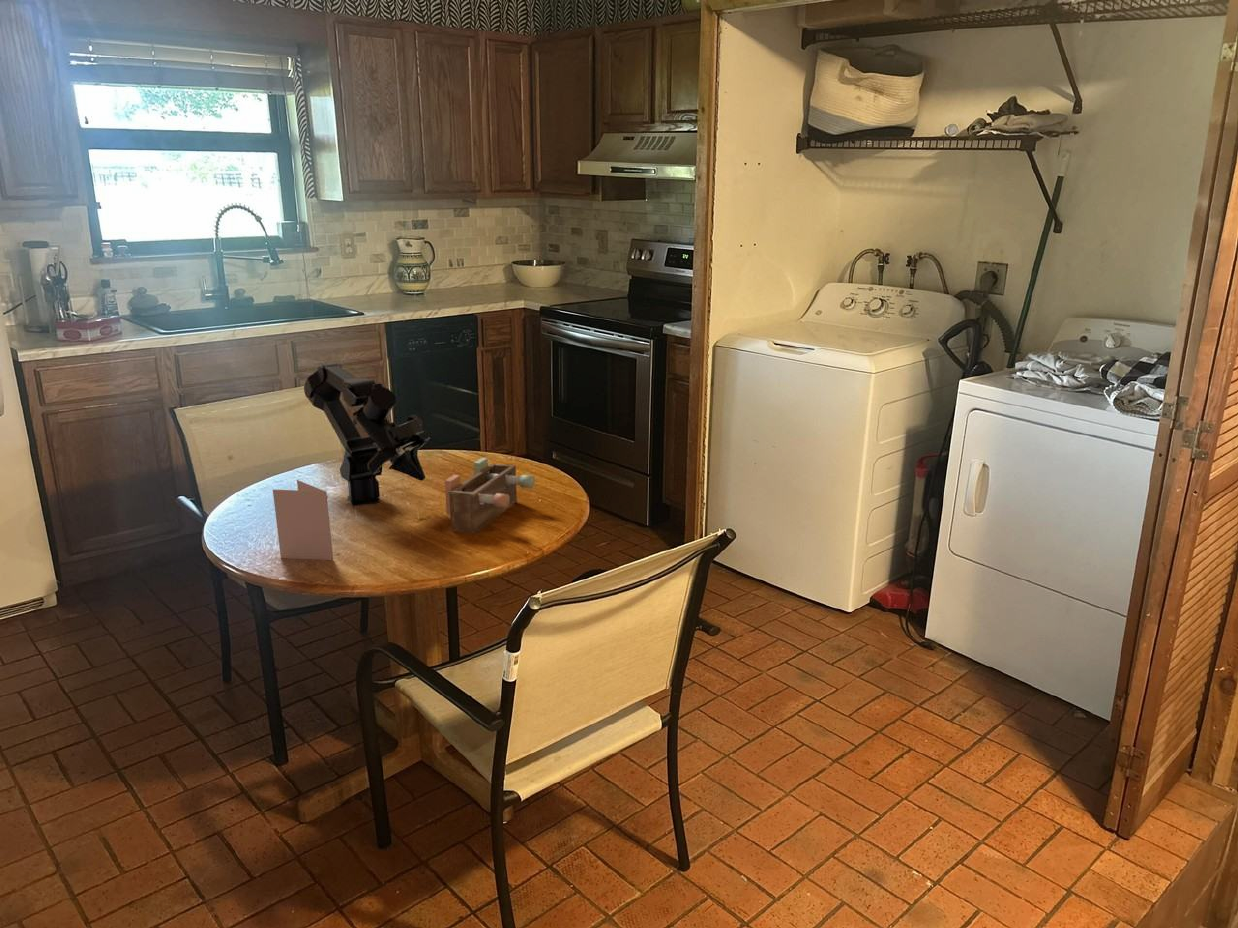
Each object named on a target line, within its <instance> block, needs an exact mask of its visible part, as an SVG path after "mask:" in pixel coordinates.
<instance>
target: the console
mask: <svg viewBox="0 0 1238 928" xmlns="http://www.w3.org/2000/svg"><path fill="white" fill-rule="evenodd" d="M516 469H517V468H516V465H513V464H512V465H511V464H503V463H491V464H490V465H488V467H487V468H485V469H483V470H482V471H480V472H479V473H477V474H476V475H474V474H473V475H472V476H470V477H469V478H468V479H467V480H465V481H463V482H462V483H460V485H459V486H457V487H455V488H454V489H452V490H451V491H449V500H450V515H449V516H450V531H452V532H453V531H454V532H460V533H461V532H462V533H469V534H477V533H478V532H480V531H481V530H482V529H484V528H485V527H487V525H488V524H490V523H491V522H493V520H495V519H496V518H498V517H499V516H501V514H503V513H505V512H506V511H507V510H508V509H510V508H511V507H512V506H513V505H515V504H516V503H517V502H518V501H517V499H518V497H517V495H518V494H517V484H508V483H506V475H512V476H517V472H516V471H517V470H516ZM487 472H488V473H493V474H498V475H497V476H495V477H494V478H492V479H491V480H489V481H488V482H487V474H486V473H487ZM460 490H461V491H460ZM462 491H464V492H462ZM471 492H472V493H471ZM479 493H481V494H490V495H495V494H496V493H501V494H508V495H509V497H510V502H509V505H508V507H507V508H504V507H496V506H494V504H489V503H481V502H479ZM514 503H515V504H514Z"/></svg>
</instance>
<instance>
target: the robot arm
mask: <svg viewBox="0 0 1238 928" xmlns="http://www.w3.org/2000/svg"><path fill="white" fill-rule="evenodd" d="M303 392H304V396H305V398H307V399H308V401H309V402H310V403H311V405H312V407H315V408H317V409H319V410H321V411H323V412H324V414H325V416H326V417H327V421H329V424H330V425H331V428H332V429H333V431H334V432H335V434H336V436H337V437H338V440H339V441H340V444H341V445H342V447H343V448H344V455H343V459H342V462H341V465H340V467H339V472H340V476H341V478H342V479H344V480H345V481H347V488H348V496H347V499H348V501H349V503H350V504H351V505H352V506H360V505H367V504H374V503H379V502H380V499H379V498H380V497H381V494H380V484H379V480H378V479H377V476H382V474H383V473H382V472H383V467H384V466H383V465H385V464H386V463H387V462H389V463H390V464H391V465H390V466H389V467H388V470H394V471H396V472H399V473H402V474H405V475H408V476H409V477H411V478H414V479H416V480H417V481H420V482H422V481H424V480H425V479H426V475H425V473H424V470H423V467H422V465H421V462H420V460H419V457H418V452H419V450H420V449H421V448H422V447H423V446H424V445H425V444H426V443H427V442H428V441H429V439H431V435H429V434H428V433H427V431H425V430H423V428H422V427H423V423H424V422H423V420H422V419H421V418H420V417H419V416H418V415H417V414H416V413H415V414H413V415H410V416H408V417H406V422H405V423H402V424H399V423H398V422H396V421H392V422H391V420H389V418H387V417H388V416H389V414H390V413H391V412H392V410H393V408H394V407H395V405H396V402H397V398H396V395H395V393H393V391H392V390H391V389H389V388H387V387H383V385H382V382H380V383H376V381H375V380H374V379H371V378H367V377H364V378H363V377H357V376H355V375H353V374H352V373H350V372H349V371H347V370H346V369H344V368H343V367H342V364H340V363H339V364H338V363H330V364H329V363H328V364H322V365H321V366H319V367H318V369H316V371H315V372H314V373H313V374H311V375H310V376H308V377H307V378H306V381H305V383H304V386H303ZM341 396H342V397H343V401H344V402H345V403H346V404H347V406H349V407H350V408H356V407H360V408H359V409H358V410H357V411H355V412H353V413H352V417H353V418H352V417H350V416H351V415H349V412H348V411H347V409H346V407H345V406H344V404H343V402H342V400H341ZM357 425H359V427H361V429H363V431H364V432H365V433H366V434H367V435H368V436H367V437H363V436H362V435H361V434H360V431H359V430H358V428H357ZM378 448H379V449H380V450H379V449H378Z"/></svg>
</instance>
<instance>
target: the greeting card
mask: <svg viewBox="0 0 1238 928" xmlns="http://www.w3.org/2000/svg"><path fill="white" fill-rule="evenodd" d="M296 487H297V489H294V490H292V489H272V497H273V503H274V512H275V513H274V514H275V521H276V530H277V537H278V546H279V554H280V555H279V556H280V558H282V559H297V558H299V559H303V560H317V561H319V560H320V561H334V555H333V554H334V553H333V543H332V535H331V534H332V533H331V532H332V531H331V525H330V524H331V523H330V515H329V513H330V512H329V505H328V503H329V502H328V495H327V493H328V492H327V491H326V490H323V489H320V488H318V487H317V486H316V487H315V486H313V485H311V484H308V483H306V482H304V481H301V480H299V479H296ZM299 559H298V560H299Z"/></svg>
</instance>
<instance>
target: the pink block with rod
mask: <svg viewBox="0 0 1238 928" xmlns="http://www.w3.org/2000/svg"><path fill="white" fill-rule="evenodd" d="M460 484H461V475H458V474H452V476H450V477H448V478H446V479H445V480H444V493H445V507H446V508H445V510H446V515H449V516H450V500H449V491H451V490H452V489H454V488H455V487H457V486H459V485H460ZM460 491H461V490H460ZM462 492H464V491H462ZM471 493H472V492H471ZM479 502H481V503H489V504H494V506H496V507H504V508H507V507H508V505H509V502H510V497H509V495H508V494H501V493H496V494H495V495H490V494H481V493H479Z"/></svg>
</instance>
